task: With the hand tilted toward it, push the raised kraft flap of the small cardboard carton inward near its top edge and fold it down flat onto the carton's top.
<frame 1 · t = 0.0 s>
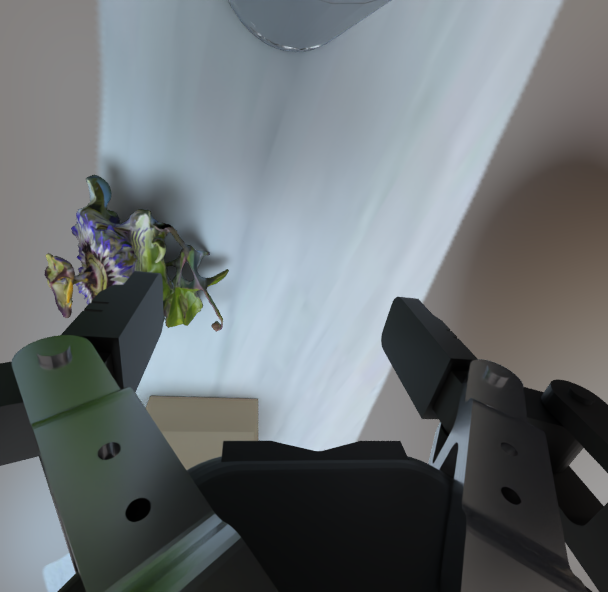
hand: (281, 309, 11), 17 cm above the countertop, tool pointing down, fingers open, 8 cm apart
carton: (204, 425, 40), on the countertop
passion flower: (163, 249, 28), on the countertop
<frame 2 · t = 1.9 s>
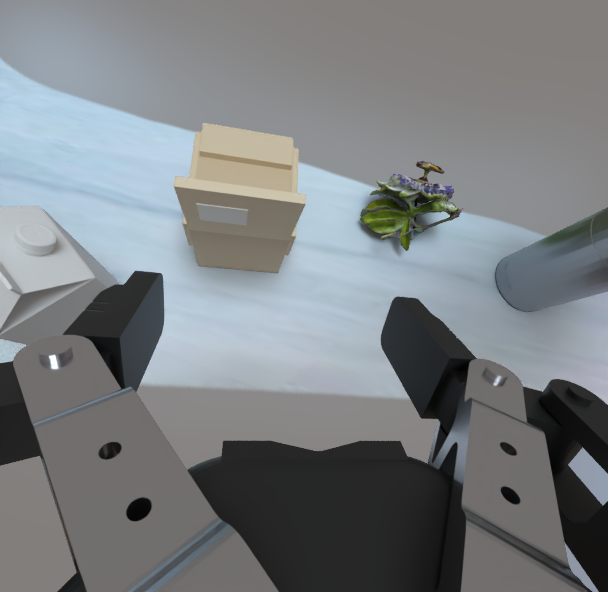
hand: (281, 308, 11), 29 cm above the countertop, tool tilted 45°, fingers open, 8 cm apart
flap: (241, 214, 28), point 15 cm above the countertop, hinge at 95.0°
milk carton: (101, 315, 37), on the countertop
carton: (242, 227, 44), on the countertop
passion flower: (397, 222, 49), on the countertop
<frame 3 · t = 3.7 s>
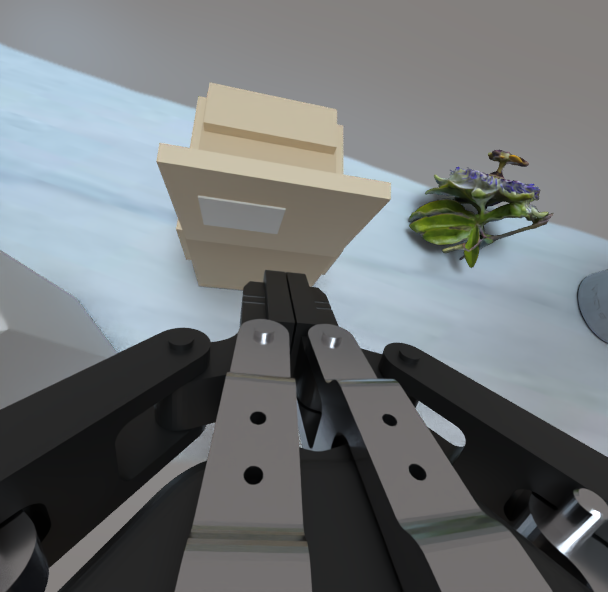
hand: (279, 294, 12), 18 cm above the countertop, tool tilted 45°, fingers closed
flap: (271, 216, 17), point 15 cm above the countertop, hinge at 95.0°
milk carton: (58, 356, 26), on the countertop
carton: (258, 234, 33), on the countertop
passion flower: (453, 230, 39), on the countertop
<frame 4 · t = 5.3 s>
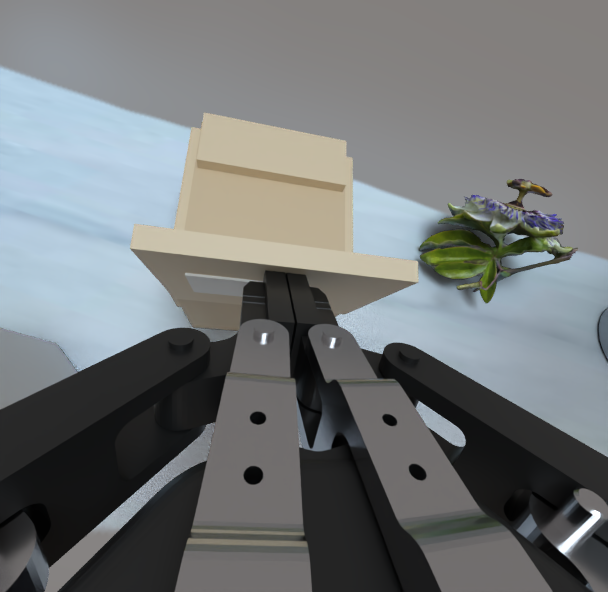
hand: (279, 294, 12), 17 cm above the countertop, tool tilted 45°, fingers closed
flap: (273, 284, 15), point 15 cm above the countertop, hinge at 94.6°, touching gripper
milk carton: (37, 411, 24), on the countertop
carton: (257, 268, 30), on the countertop
passion flower: (466, 259, 36), on the countertop
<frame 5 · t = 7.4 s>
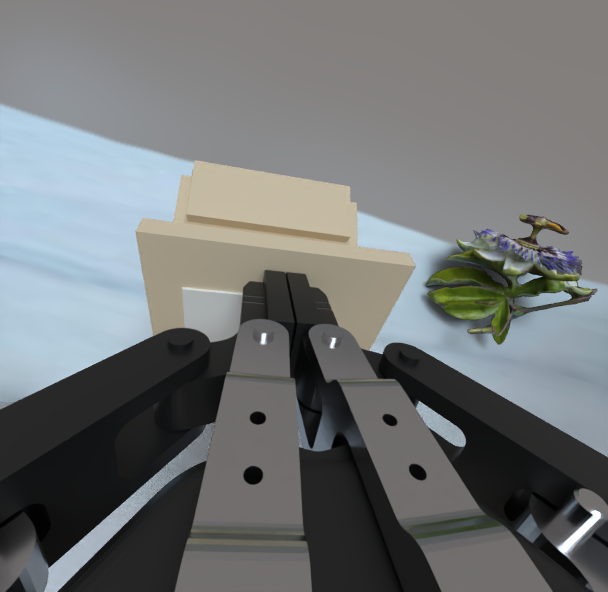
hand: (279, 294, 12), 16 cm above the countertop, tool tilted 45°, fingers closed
flap: (271, 320, 14), point 14 cm above the countertop, hinge at 60.3°, touching gripper
carton: (255, 310, 28), on the countertop
passion flower: (475, 293, 34), on the countertop
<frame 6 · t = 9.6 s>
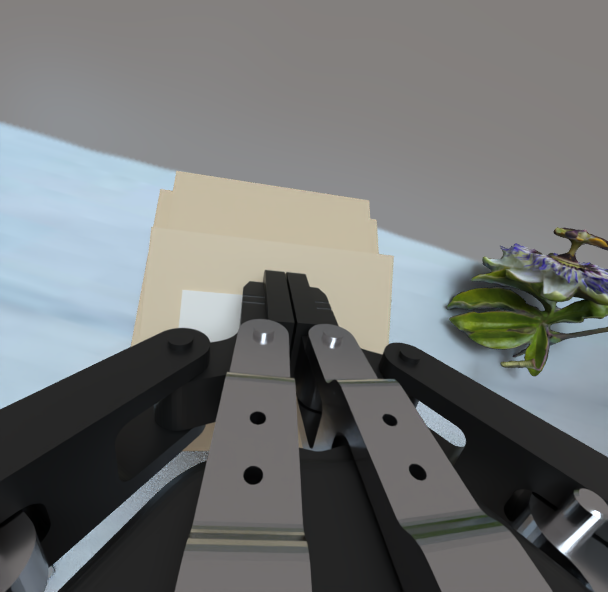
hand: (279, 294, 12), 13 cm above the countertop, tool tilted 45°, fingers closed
flap: (272, 343, 13), point 12 cm above the countertop, hinge at 15.1°, touching gripper
carton: (254, 343, 24), on the countertop
passion flower: (501, 315, 30), on the countertop
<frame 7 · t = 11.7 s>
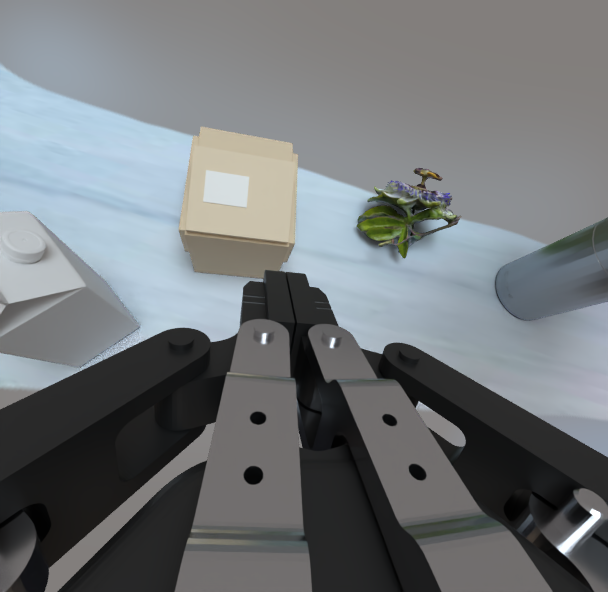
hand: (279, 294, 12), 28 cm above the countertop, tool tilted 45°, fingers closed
flap: (242, 196, 31), point 12 cm above the countertop, hinge at 15.1°
milk carton: (93, 322, 36), on the countertop
carton: (240, 233, 43), on the countertop
passion flower: (394, 229, 49), on the countertop
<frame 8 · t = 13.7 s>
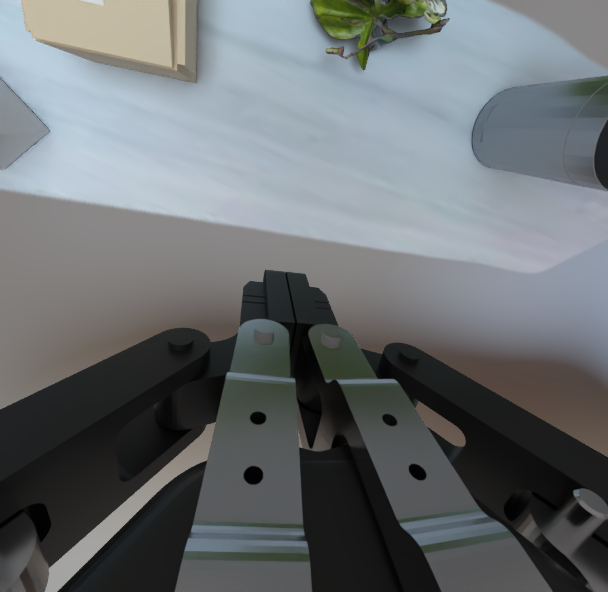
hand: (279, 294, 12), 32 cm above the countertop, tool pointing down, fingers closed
passion flower: (371, 9, 34), on the countertop
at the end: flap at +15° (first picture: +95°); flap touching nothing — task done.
